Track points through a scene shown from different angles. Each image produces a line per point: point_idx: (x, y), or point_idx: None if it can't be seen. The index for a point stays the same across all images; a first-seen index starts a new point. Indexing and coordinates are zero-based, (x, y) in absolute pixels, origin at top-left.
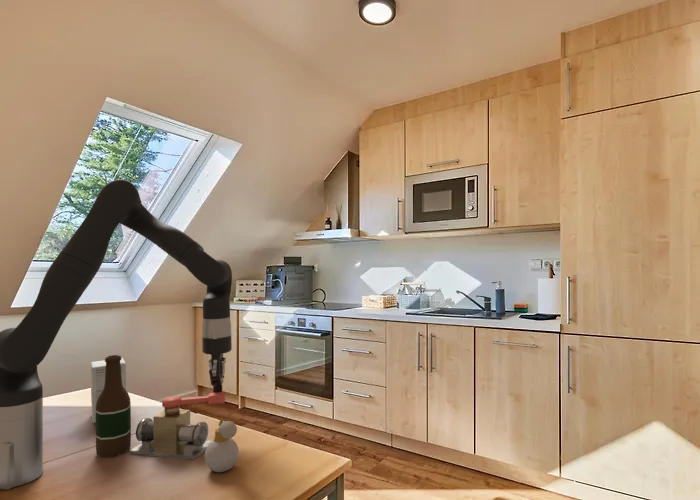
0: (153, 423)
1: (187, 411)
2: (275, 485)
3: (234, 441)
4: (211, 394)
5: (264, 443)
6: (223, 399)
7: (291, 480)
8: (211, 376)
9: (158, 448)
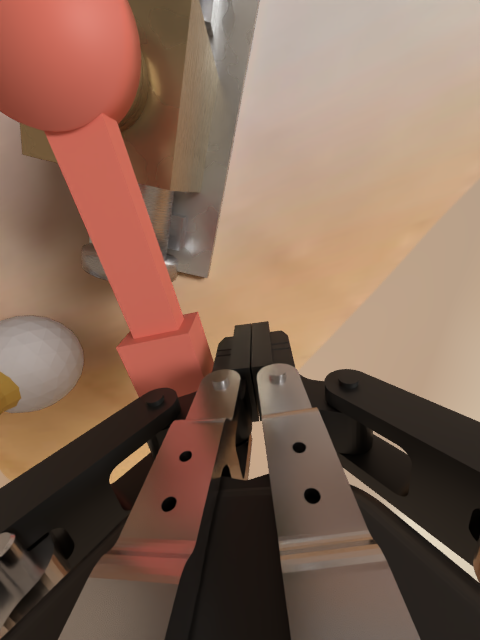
0: None
1: (141, 183)
2: (21, 449)
3: (28, 411)
4: (156, 356)
5: None
6: None
7: None
8: (2, 505)
9: None
